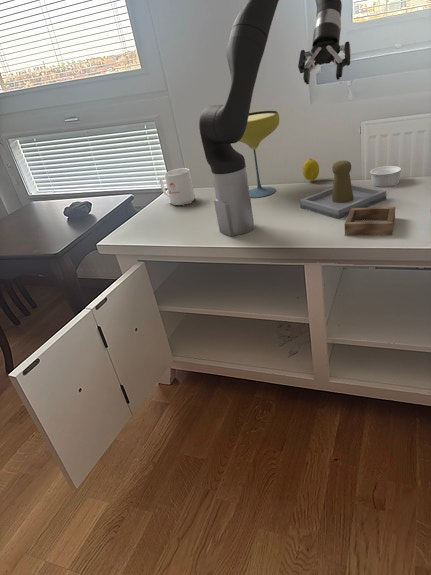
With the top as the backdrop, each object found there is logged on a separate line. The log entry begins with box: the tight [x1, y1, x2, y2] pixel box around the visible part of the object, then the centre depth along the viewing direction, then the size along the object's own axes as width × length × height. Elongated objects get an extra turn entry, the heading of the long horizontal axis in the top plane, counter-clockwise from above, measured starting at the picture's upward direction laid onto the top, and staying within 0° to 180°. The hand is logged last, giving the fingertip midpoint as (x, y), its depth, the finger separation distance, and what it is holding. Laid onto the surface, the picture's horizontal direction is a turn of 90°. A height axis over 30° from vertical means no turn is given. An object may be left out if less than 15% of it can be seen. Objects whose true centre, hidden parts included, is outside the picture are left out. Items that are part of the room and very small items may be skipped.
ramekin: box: [369, 165, 402, 188], centre depth 134 cm, size 9×9×4 cm
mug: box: [158, 167, 196, 206], centre depth 154 cm, size 12×9×11 cm
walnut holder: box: [344, 206, 396, 236], centre depth 108 cm, size 11×11×3 cm
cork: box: [331, 160, 354, 203], centre depth 123 cm, size 6×6×11 cm
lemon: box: [302, 158, 320, 182], centre depth 148 cm, size 6×6×8 cm
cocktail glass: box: [238, 110, 280, 199], centre depth 143 cm, size 18×18×25 cm
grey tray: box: [299, 183, 387, 220], centre depth 125 cm, size 18×16×2 cm
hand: (322, 80), depth 121 cm, fingers open, 8 cm apart
